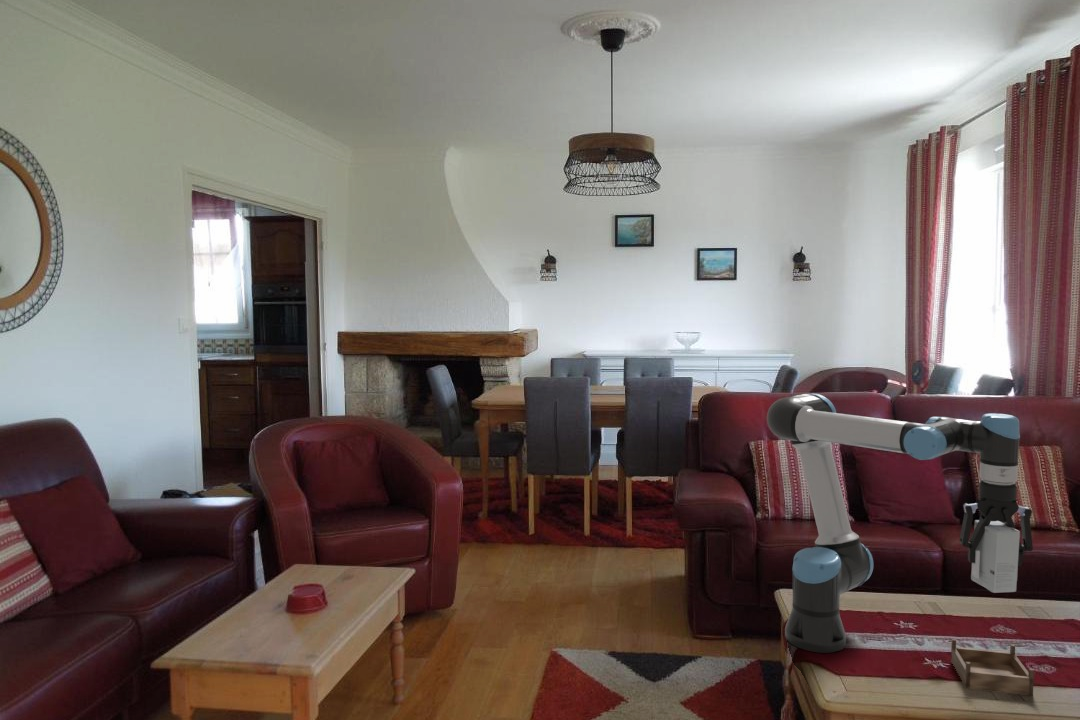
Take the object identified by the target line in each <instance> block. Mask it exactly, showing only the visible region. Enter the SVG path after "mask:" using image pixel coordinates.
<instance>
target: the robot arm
mask: <svg viewBox="0 0 1080 720" xmlns="http://www.w3.org/2000/svg"><path fill="white" fill-rule="evenodd" d="M766 423H767V427H768V429H769V430H770V431H771V433H773V435H774V436H776V437H778V439H781V440H784V441H785V440H786V441H790V444H791V446H792V447H793V448H794V449H796V450H797V451H798V453H799V458H800V461H801V467H802V469H803V474H804V478H805V482H806V487H807V490H808V495H809V499H810V503H811V507H812V511H813V512H812V513H813V515H814V520H815V524H816V527H817V532H818V536H817V538H816V539H815V541H814V544H815V546H813V547H805V548H802V549H800V550H799V551H797V552H796V553H795V555H794V556H793V564H792V569H791V571H792V605H791V606H792V608H791V611H790V614H789V616H788V619H787V622H786V624H785V628H784V636H785V640H787V642H789V643H790V644H791V645H793V646H795V647H796V648H798V649H802V650H804V651H808V652H812V653H819V654H820V653H821V654H825V653H826V654H827V653H830V654H831V653H836V651H837V652H840V651H841V650H843V649H845V647H846V646H847V634H846V630H845V628H844V625H843V622H842V619H841V615H840V603H841V599H840V596H841V595H842V594H844V593H846V592H848V591H850V590H851V591H852V589H855V588H857V587H860V586H862V585H863V584H864V583H865V582H866V581H868V580H869V579H870V577H871V576H872V573H873V570H874V558H873V554H872V553H871V551H870V550H869V548H868V547H865V545H864V544H863V543H861V540H860V536H859V535H858V533H856V532H854V531H853V530H852V528H851V524H850V520H849V515H848V511H847V507H846V503H845V499H844V496H843V491H842V486H841V484H840V478H839V474H838V470H837V468H836V467H837V466H836V462H835V458H834V455H833V454H834V453H833V450H832V446H831V445H832V443H833V444H839V445H846V446H852V447H853V446H854V447H861V448H867V449H874V450H880V451H886V452H887V451H888V452H892V453H900V454H907V455H909V456H910V457H912V458H914V459H915V460H920V461H926V460H935V459H936V458H938V457H940V456H943V455H946V454H948V453H952V452H955V451H960V452H967V453H974V454H979V474H978V475H979V476H978V477H979V478H980V480H979V482H978V499H977V501H976V502H975V503H967V502H965V503H963V504H962V507H963V512H964V514H963V519H962V525H961V530H960V537H959V541H958V542H959V543H960V545H962V546H963V547H965V548H967V560H968V562H969V563H971V570H972V574H973V576H974V577H975V578H979V563H980V551H979V549H978V548H977V546H978V544H979V542H980V540H981V538H982V536H983V534H984V532H985V526H988V525H989V524H990V522H991V521H1000V522H1002V523H1004V524H1005V525H1007V526H1008V527H1010V528H1014V529H1016V527H1015V523H1014V521H1013V518H1012V517H1013V516H1014V515H1015V514H1016V512H1018V515H1019V517H1020V519H1019V520H1020V529H1021V538H1022V542H1021V539H1020V540H1019V555H1018V567H1022V566H1023V561H1024V559H1023V558H1024V555H1025V553H1026V552H1032V551H1033V549H1034V547H1033V537H1032V536H1033V535H1032V527H1031V526H1032V525H1031V518H1032V517H1031V516H1032V514H1033V510H1032V509H1031V508H1029V507H1028V506H1026V505H1024V506H1022V505H1019V503H1017V498H1018V497H1017V496H1018V485H1017V484H1016V483H1017V482H1018V472H1019V451H1020V439H1021V435H1020V420H1019V418H1018V417H1016V416H1014V415H1011V414H1005V413H995V412H993V413H984V414H983V415H982V416H981V419H980V420H970V419H969V420H968V419H962V418H956V417H955V418H953V417H948V416H931V417H929V418H928V420H927V421H926V422H925V423H920V422H919V423H918V422H910V421H904V420H902V421H901V420H895V419H887V418H886V419H885V418H877V417H870V416H864V415H863V416H862V415H855V414H847V413H846V414H845V413H837V410H836V407H835V405H834V404H833V402H832V401H831V400H830V399H829V398H827V397H825V396H824V395H822V394H819V393H802V394H798V395H792V396H786V397H785V396H784V397H782V398H779V399H777V400H775V401H774V402H773V403H772V404H771V405H770V407H769V408H768V410H767V414H766ZM977 509H978V511H979V512H980V513H981V514H980V516H979V519H978V520H979V522H978V524H977V526H976V528H975V530H974V529H973V532H972V534H971V530H972V525H973V520H974V514H975V513H976V510H977ZM970 536H971V537H970ZM1018 570H1019V568H1018V569H1017V572H1018Z"/></svg>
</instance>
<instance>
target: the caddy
mask: <svg viewBox="0 0 1080 720" xmlns="http://www.w3.org/2000/svg"><path fill="white" fill-rule="evenodd" d="M950 644H951V648H950V650H951V651H950V663H951V665H952V664H953V665H952V666H954V667H955V668H954V667H953V668H954V670H955V669H956V670H955V671H957V672H956V673H958V674H959V675H958V674H957V675H958V677H959V676H960V677H959V679H960V678H961V679H960V681H961V680H962V681H961V682H962V684H963V686H964V688H965V689H968V690H978V691H985V692H995V693H1004V694H1014V695H1022V696H1030V697H1031V696H1032V697H1033V696H1034V681H1035V680H1034V679H1035V670H1034V669H1033V668H1028V669H1027V668H1026V667H1025V665H1024V664H1023V663H1022V662H1021V660H1020V659H1019V658H1018V657H1017V655H1016V645H1015V644H1013V643H1012V644H1010V645H1009V646H1010V648H1009V651H1003V650H1002V651H1000V650H991V649H990V650H988V649H981V648H972V647H971V648H969V647H961V646H957V640H956V638H951V643H950Z"/></svg>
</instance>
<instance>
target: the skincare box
mask: <svg viewBox="0 0 1080 720" xmlns="http://www.w3.org/2000/svg"><path fill="white" fill-rule="evenodd" d="M978 522H979V519H975V520H974V527H973V528H974V529H973V531H974V530H975V528H976V526H977V524H978ZM1020 538H1021V531H1020V530H1018V529H1016V528H1015V529H1014V528H1010V527H1008V526H1007V525H1005V523H1004V522H1000V521H991V522H990V524H989V525H988V526H985V532H984V534H983V536H982V538H981V540H980V542H979V544H978V546H977V548H978V549H979V551H980V563H979V578H975V577H974V576H973V574H972V569H971V572H970V573H971V574H970V579H971V581H972V582H975V583H976V584H977V585H979V586H982V587H984V588H985V589H986V590H988V591H989V592H991V593H994V594H996V593H997V594H998V593H1015V592H1017V584H1018V583H1017V581H1018V571H1017V569H1018V570H1019V568H1018V567H1019V566H1018V555H1019V540H1020V541H1021V539H1020Z"/></svg>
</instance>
